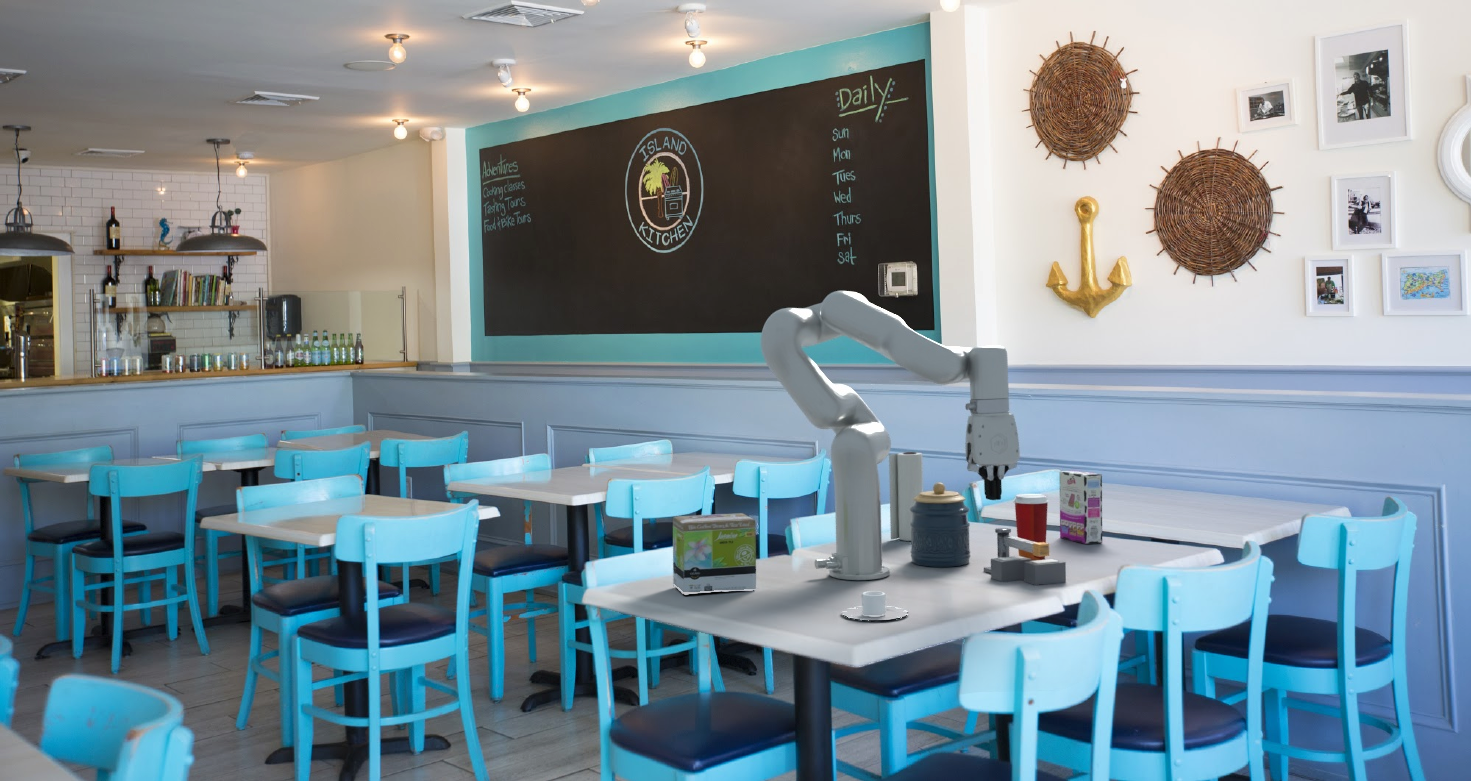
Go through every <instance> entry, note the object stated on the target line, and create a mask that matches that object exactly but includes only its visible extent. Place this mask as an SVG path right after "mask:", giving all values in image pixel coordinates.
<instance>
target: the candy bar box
mask: <svg viewBox="0 0 1471 781" xmlns="http://www.w3.org/2000/svg"><path fill="white" fill-rule="evenodd" d="M1058 473H1059V538H1061V539H1064V540H1068V541H1072V542H1075V543H1076V542H1077V543H1080V544H1084V545H1093V544H1095V545H1096V544H1102V543H1103V474H1099V473H1095V472H1087V471H1081V470H1062V471H1059V472H1058Z"/></svg>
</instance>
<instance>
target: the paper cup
mask: <svg viewBox="0 0 1471 781" xmlns="http://www.w3.org/2000/svg"><path fill="white" fill-rule="evenodd" d="M1012 503H1014V509H1015V510H1014V512H1015V523H1016V524H1015V525H1016V537H1018V538H1022V539H1026V540H1030V541H1033V542H1037V543H1040V542H1045V543H1047V532H1048V531H1047V526H1048V525H1047V523H1048V503H1050V500H1048V497H1047V495H1045V494H1043V493H1018V494H1016V495H1015V497H1014V498H1013V500H1012ZM1017 550H1018V556H1022V557H1026V558H1029V559H1031V561H1036V560H1046V556H1041V557H1038V556H1034V555H1033V553H1031V552H1027V551H1024V550H1020V549H1017Z"/></svg>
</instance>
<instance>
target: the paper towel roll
mask: <svg viewBox="0 0 1471 781" xmlns="http://www.w3.org/2000/svg"><path fill="white" fill-rule="evenodd" d="M888 469H889V470H888V475H889V480H888V481H889V518H890V519H889V521H890V522H889V523H890V540H896V539H899V540H900V541H907V542H908V541H909V542H911V526H910V523H911V522H912V513H911V511H910V508H911V507H913V506H914V505H915V503H916V501H914V500H913V499H914V497H916V496H918V495H919V494H920V493H921V492H924V481H923V480H924V477H923V476H924V475H923V472H924V471H923V469H924V468H923V453H922V452H914V451H912V452H911V451H908V452H905V451H904V452H899V453H892V454H890V453H889V454H888Z"/></svg>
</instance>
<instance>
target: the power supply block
mask: <svg viewBox="0 0 1471 781" xmlns="http://www.w3.org/2000/svg"><path fill="white" fill-rule="evenodd" d="M1066 563H1067V562H1066V561H1063V560H1059V559H1055V558H1051V559H1050V558H1047V559H1046V558H1045V559H1044V560H1036V561H1029V562H1024V579H1023V580H1024V581H1023V582H1024V583H1027V584H1029V585H1033V584H1034V585H1033V586H1040V585H1039V584H1044V585H1051V584H1060V583H1067V577H1066V576H1067V574H1066V573H1067V572H1066V571H1067V570H1066V569H1067V568H1066V565H1067V564H1066Z"/></svg>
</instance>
